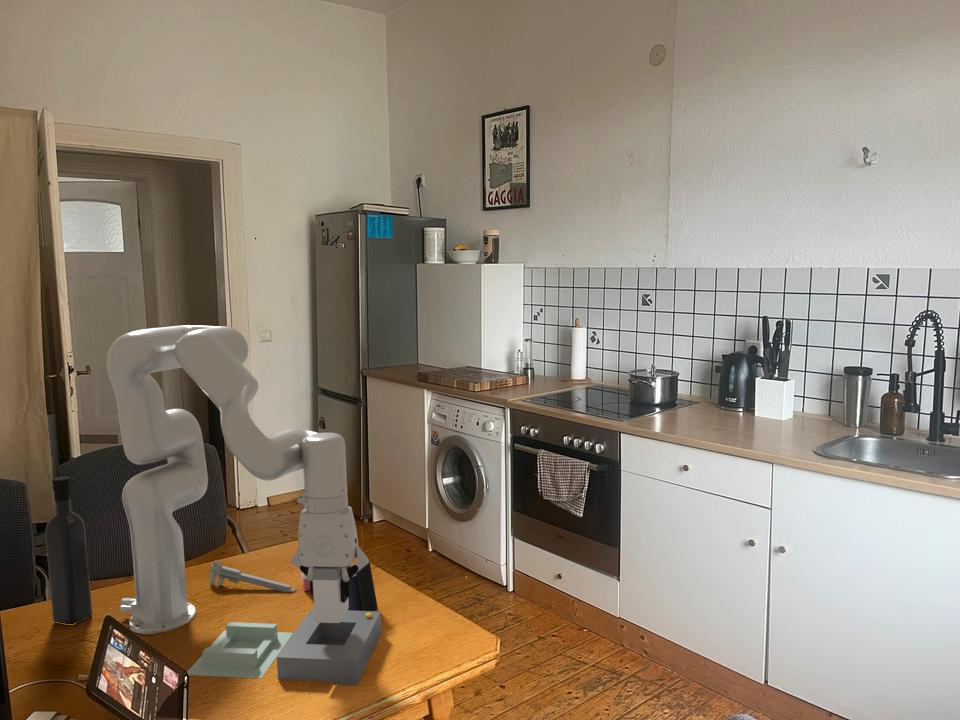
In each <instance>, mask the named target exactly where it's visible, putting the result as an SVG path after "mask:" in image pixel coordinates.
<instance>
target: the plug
mask: <svg viewBox="0 0 960 720" xmlns="http://www.w3.org/2000/svg"><path fill="white" fill-rule="evenodd" d="M312 576H313V594H314V602H313V605H314V606H313V609H314V613H315V622H318V623H340V621H341V620H342V618H343V616H344V615H345V613H346V612H347V610H348V608H349V602H348V599H347V600H346V602H345V603H342V602H341V589H340V582H341V581H342V575H341V572H340V568H323V567H313V569H312Z"/></svg>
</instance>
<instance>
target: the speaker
mask: <svg viewBox="0 0 960 720" xmlns="http://www.w3.org/2000/svg"><path fill="white" fill-rule="evenodd" d="M374 583H375V582H374V579H373V573H372V567H371V562H370V561H369V562H368V563H367V565H365V566H364V567H363V568H361V569H359V570H358V571H357V572H356V573H355V574H354V575H353V576H352V577H351V590H352V592H351V595H350V596H349V597H348V602H349V608H348V610H350V611H378V610H379V608H378V602H377V601H378V600H377V595H376V590H375V589H376V588H375V585H374Z"/></svg>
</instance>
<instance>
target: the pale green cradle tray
mask: <svg viewBox="0 0 960 720" xmlns="http://www.w3.org/2000/svg"><path fill="white" fill-rule="evenodd" d="M293 634H294V632H288V631H287V632H283V631H278V624H277V623H258V622H239V621H238V622H235V621H233V622H231V621H229V622H228V623H227V624H226V625H225V630H223V632H222V633H221V634H220V635H219V636H218V637H217V638H216V639H215V640H214V641H213V642H212V644H211V645H210V646H209V647H205V648H204V650H202V655H201V656H200V657H199V658H198V659H197V660H196V662H194V663H193V665H191V666H190V668H189V669H188V670H187V673H188V675H187V676H200V677H207V676H208V677H224V678H244V679H245V678H246V679H247V678H249V679H262V678H263V677H264V676H265V674H266V672H267V671H268V669H269V668H270V667H271V666H272V664H273V662H274V661H275V659H277V656H278V655H279V653H280V652H281V651H282V649H283V648H284V646H285V645H286V644H287V642H288V641H289V639H290V638H291V637H292V635H293Z"/></svg>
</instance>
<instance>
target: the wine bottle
mask: <svg viewBox="0 0 960 720" xmlns="http://www.w3.org/2000/svg"><path fill="white" fill-rule="evenodd" d="M51 482H52V490H53V495H54V508H55V513H54V515H53V516H51V518H50V519H49V520H48V522H47V524H46V526H45V532H44V536H45V545H46V546H45V547H46V555H47V556H46V559H47V565H48V566H47V567H48V578H49V589H50V600H51V601H50V602H51V610H52V611H51V612H52V620H53V621H54V622H59V623H65V624H74V623H77V622H79V621H81V620H83V619H84V618H86V617H88V616H90V615H92V616H93V606H92V596H91V585H90V584H91V582H90V571H89V559H88V549H87V548H88V547H87V537H86V535H87V534H86V527H85V523H84V520H83V519H82V517H81V516H80V515H79V514H77V513H76V512H74V511H72V504H71V503H72V502H71V492H70V491H71V490H70V488H71V484H70V477H69V476H64V475H63V476H58V477H53V478H52V479H51ZM90 617H91V616H90ZM83 621H84V620H83ZM54 622H53V623H54Z"/></svg>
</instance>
